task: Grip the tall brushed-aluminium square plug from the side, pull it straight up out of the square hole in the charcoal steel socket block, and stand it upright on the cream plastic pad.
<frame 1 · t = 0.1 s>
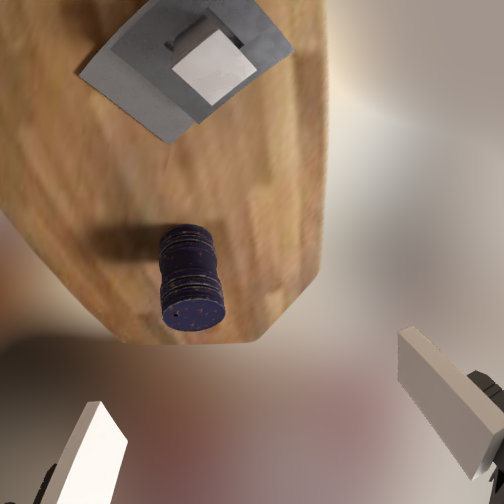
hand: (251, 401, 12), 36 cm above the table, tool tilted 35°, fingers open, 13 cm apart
socket block: (201, 36, 30), on the table
storage jar: (186, 243, 56), on the table
aluminium plug: (201, 38, 29), point 1 cm above the table, touching socket block
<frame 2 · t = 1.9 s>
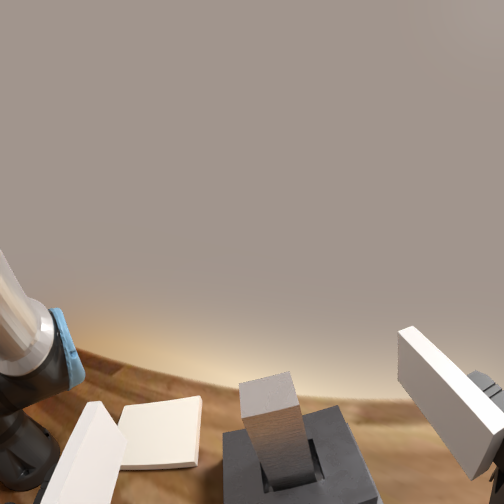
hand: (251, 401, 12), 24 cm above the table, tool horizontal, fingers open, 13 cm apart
socket block: (296, 486, 27), on the table
cream pad: (156, 435, 40), on the table
aluminium plug: (295, 482, 27), point 1 cm above the table, touching socket block
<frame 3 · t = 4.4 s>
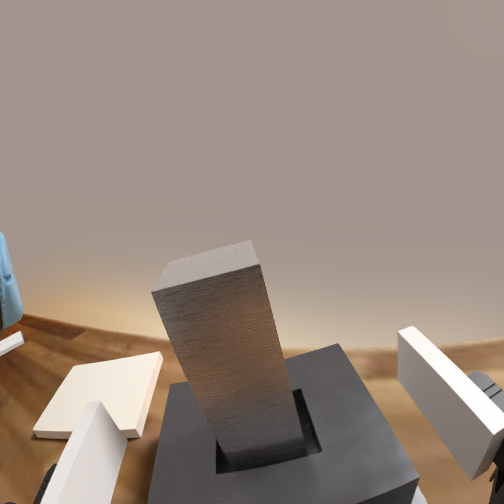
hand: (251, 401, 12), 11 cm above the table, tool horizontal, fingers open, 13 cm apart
socket block: (278, 470, 18), on the table
external hard drive: (4, 351, 50), on the table
cream pad: (101, 399, 30), on the table
aluminium plug: (275, 463, 18), point 1 cm above the table, touching socket block
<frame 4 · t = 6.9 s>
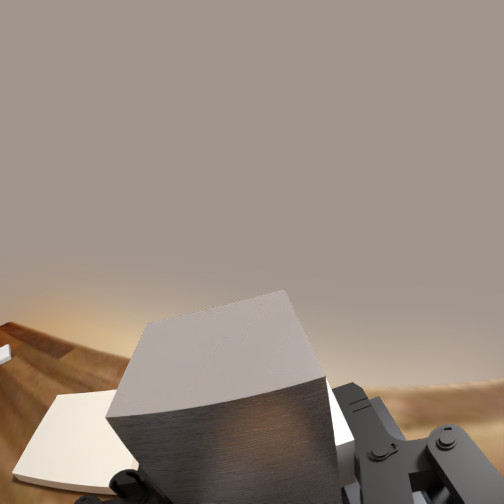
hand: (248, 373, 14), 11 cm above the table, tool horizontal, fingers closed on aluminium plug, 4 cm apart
cream pad: (87, 439, 24), on the table
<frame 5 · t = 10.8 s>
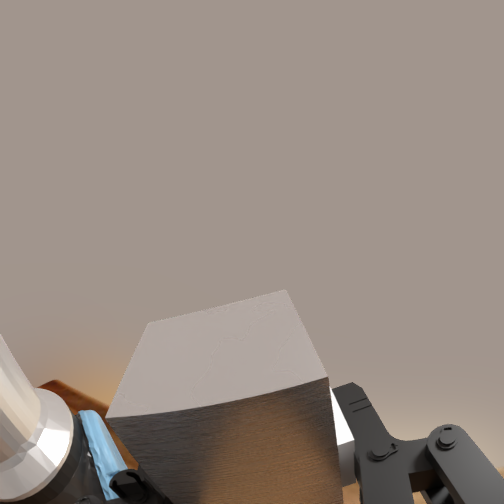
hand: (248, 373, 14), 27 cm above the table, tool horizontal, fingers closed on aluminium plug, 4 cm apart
when the fingers open (12 cm above the table, at t = 14.8 s): aluminium plug drops 1 cm, resting on cream pad.
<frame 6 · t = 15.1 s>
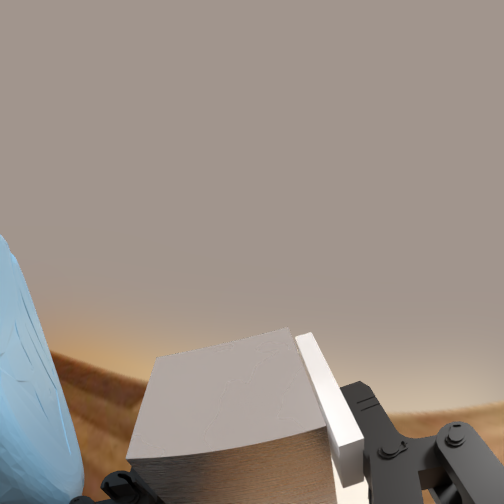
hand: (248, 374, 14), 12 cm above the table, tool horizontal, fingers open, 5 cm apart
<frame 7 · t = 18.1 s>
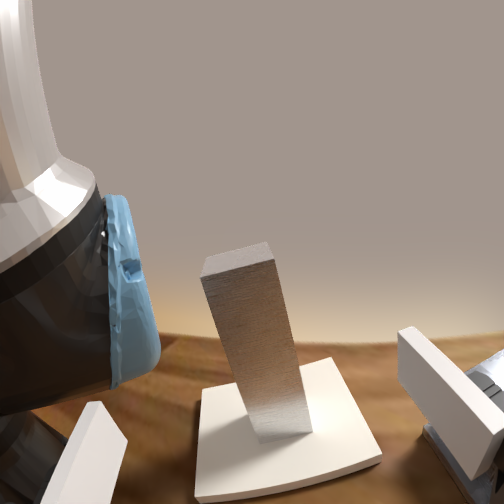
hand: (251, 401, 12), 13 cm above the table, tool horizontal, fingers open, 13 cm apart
cream pad: (278, 429, 24), on the table
aluminium plug: (283, 420, 24), point 1 cm above the table, touching cream pad
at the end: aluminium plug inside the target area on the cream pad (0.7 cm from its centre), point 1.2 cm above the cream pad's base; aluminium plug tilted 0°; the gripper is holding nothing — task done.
